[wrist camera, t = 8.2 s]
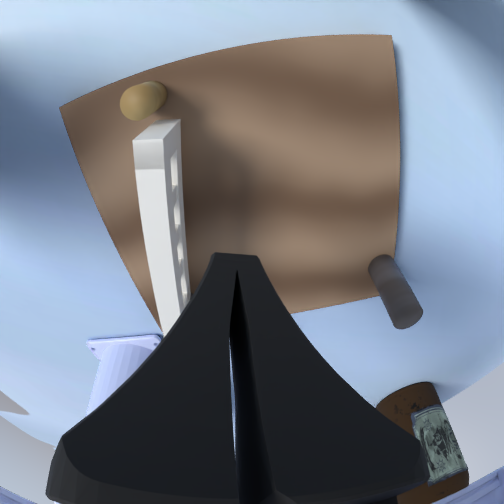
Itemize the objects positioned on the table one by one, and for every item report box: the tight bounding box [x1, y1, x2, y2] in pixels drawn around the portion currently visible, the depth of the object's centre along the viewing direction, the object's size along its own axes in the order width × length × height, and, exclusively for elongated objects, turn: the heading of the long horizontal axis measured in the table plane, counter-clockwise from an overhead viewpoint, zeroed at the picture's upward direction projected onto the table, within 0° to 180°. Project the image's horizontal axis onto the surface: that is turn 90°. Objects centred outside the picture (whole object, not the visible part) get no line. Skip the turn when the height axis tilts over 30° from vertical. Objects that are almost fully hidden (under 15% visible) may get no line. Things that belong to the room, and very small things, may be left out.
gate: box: [132, 119, 191, 337], centre depth 15 cm, size 11×1×4 cm, turn 177°
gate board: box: [59, 34, 423, 338], centre depth 16 cm, size 18×18×6 cm
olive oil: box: [376, 382, 469, 504], centre depth 27 cm, size 11×11×25 cm
